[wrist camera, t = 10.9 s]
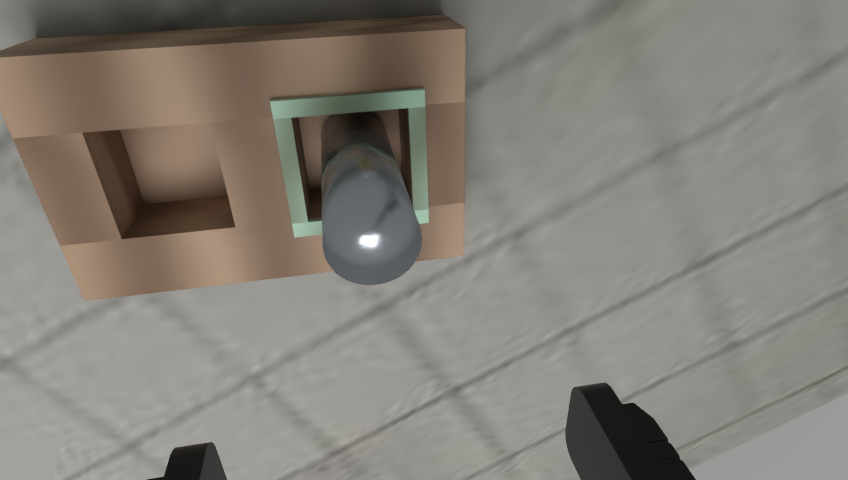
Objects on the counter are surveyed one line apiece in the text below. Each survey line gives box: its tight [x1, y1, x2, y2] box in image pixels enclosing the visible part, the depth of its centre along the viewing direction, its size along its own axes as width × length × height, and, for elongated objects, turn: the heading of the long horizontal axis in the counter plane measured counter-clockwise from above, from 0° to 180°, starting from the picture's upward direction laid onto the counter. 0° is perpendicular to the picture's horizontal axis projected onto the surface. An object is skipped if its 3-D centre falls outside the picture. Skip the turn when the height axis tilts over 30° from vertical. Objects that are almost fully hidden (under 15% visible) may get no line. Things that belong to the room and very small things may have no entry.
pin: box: [321, 111, 422, 285], centre depth 24 cm, size 4×4×12 cm
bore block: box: [0, 15, 466, 301], centre depth 27 cm, size 20×12×5 cm, turn 92°
